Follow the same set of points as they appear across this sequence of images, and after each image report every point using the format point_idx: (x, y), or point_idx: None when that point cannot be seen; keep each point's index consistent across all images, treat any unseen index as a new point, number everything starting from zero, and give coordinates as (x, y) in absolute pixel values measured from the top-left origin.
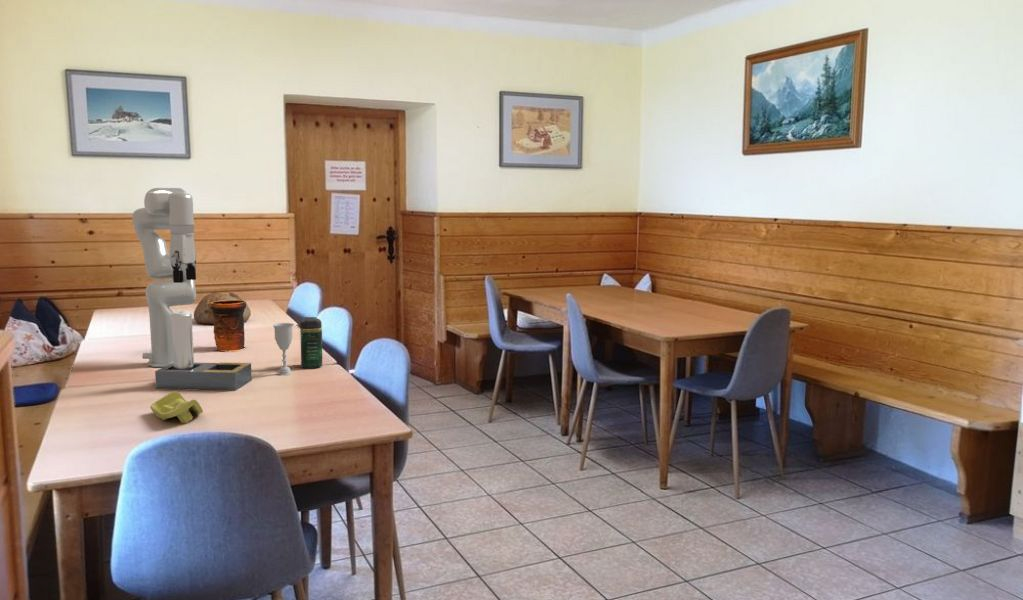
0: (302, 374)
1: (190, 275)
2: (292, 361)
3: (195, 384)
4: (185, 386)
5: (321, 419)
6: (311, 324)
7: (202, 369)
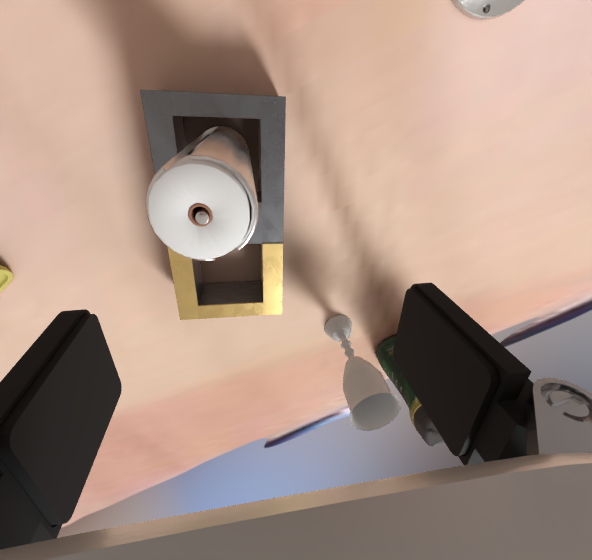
0: (331, 354)
1: (420, 353)
2: None
3: None
4: None
5: None
6: (420, 432)
7: None
